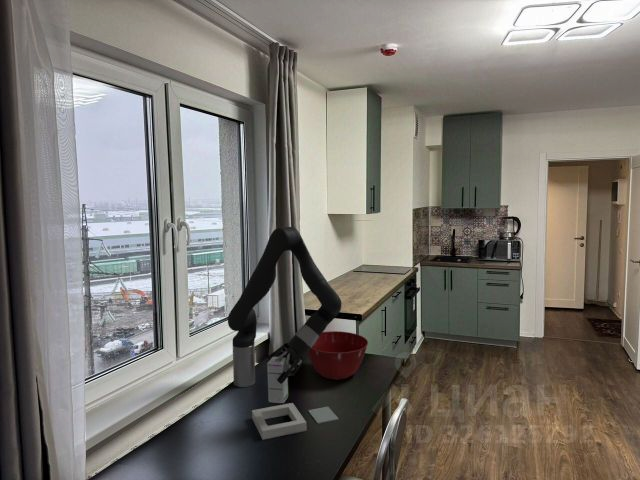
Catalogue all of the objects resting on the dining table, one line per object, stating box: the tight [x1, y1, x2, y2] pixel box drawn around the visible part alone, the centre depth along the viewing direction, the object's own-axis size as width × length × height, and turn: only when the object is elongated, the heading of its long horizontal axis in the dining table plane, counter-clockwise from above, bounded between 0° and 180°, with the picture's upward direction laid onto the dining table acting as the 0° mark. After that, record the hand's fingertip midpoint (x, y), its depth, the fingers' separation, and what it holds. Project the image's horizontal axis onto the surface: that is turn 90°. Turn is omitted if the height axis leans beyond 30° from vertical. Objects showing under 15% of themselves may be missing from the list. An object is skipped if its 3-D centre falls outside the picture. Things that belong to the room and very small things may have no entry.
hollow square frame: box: [251, 402, 308, 441], centre depth 160 cm, size 16×16×3 cm
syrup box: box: [266, 356, 289, 404], centre depth 158 cm, size 6×6×14 cm
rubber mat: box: [307, 406, 340, 425], centre depth 166 cm, size 10×8×1 cm
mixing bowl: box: [307, 330, 369, 381], centre depth 203 cm, size 28×28×15 cm
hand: (274, 377), depth 158 cm, fingers closed on syrup box, 8 cm apart
